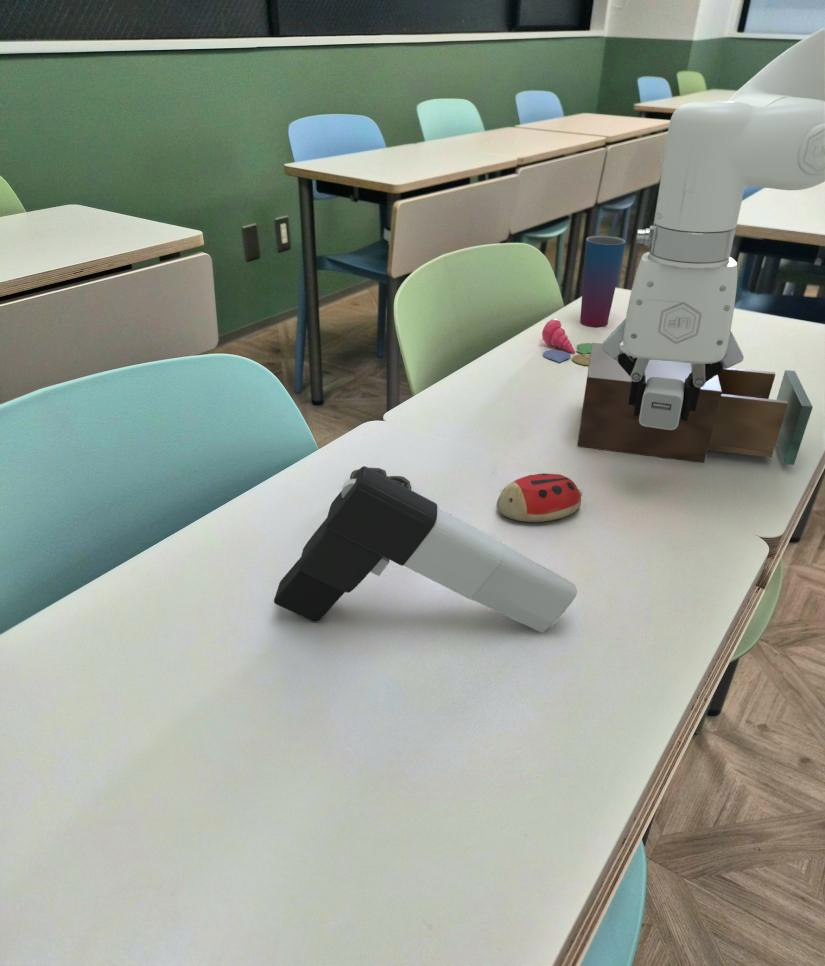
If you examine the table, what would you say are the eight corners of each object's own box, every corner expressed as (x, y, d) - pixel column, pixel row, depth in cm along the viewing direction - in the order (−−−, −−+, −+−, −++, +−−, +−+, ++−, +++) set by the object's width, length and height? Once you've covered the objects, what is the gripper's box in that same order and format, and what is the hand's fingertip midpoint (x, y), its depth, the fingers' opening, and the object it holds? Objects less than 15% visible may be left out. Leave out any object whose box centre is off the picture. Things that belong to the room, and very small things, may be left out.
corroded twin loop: (367, 469, 88) (367, 462, 87) (421, 491, 84) (421, 483, 83) (339, 486, 84) (339, 479, 84) (394, 510, 80) (394, 502, 80)
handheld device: (280, 577, 67) (357, 455, 60) (483, 674, 72) (577, 571, 65) (271, 606, 63) (351, 480, 56) (485, 705, 68) (583, 600, 61)
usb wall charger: (638, 425, 79) (643, 391, 77) (644, 399, 84) (650, 367, 82) (676, 431, 77) (683, 396, 75) (680, 404, 83) (687, 371, 81)
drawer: (788, 426, 98) (805, 371, 94) (804, 466, 88) (824, 408, 84) (666, 412, 101) (677, 358, 97) (669, 449, 92) (682, 392, 88)
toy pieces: (523, 354, 122) (526, 329, 119) (552, 336, 130) (555, 312, 127) (591, 371, 116) (595, 344, 114) (617, 350, 124) (621, 325, 122)
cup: (605, 331, 132) (618, 246, 125) (569, 324, 135) (580, 241, 128) (617, 321, 137) (630, 238, 129) (582, 314, 140) (594, 234, 133)
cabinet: (697, 419, 101) (712, 354, 96) (704, 462, 91) (722, 391, 86) (582, 406, 104) (592, 342, 100) (577, 446, 94) (587, 376, 89)
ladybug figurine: (486, 500, 83) (488, 473, 81) (563, 486, 85) (567, 460, 84) (511, 532, 77) (514, 504, 75) (593, 516, 80) (598, 489, 78)
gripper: (600, 248, 70) (580, 420, 80) (791, 258, 66) (745, 437, 76) (603, 231, 76) (584, 392, 86) (777, 239, 73) (737, 406, 82)
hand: (660, 411), depth 81 cm, fingers closed on usb wall charger, 4 cm apart
